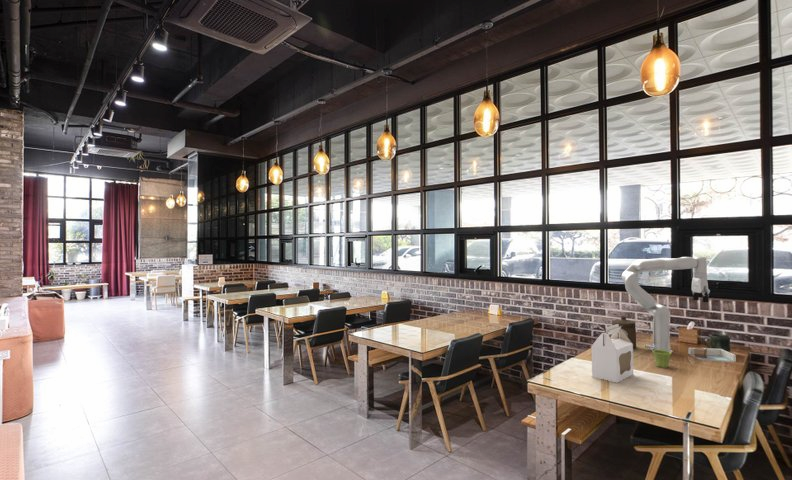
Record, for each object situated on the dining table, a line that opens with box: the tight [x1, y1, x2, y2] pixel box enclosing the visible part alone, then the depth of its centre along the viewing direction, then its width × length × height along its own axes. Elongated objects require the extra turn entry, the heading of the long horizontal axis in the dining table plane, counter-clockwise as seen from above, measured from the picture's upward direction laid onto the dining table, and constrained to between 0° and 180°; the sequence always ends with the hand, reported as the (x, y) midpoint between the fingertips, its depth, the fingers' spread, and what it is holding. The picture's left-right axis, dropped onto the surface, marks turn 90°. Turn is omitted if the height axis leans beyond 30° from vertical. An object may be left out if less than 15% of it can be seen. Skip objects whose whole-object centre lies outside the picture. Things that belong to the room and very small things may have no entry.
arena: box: [688, 347, 737, 363], centre depth 256 cm, size 19×15×5 cm
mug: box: [702, 333, 732, 353], centre depth 270 cm, size 11×15×12 cm
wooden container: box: [611, 315, 637, 350], centre depth 289 cm, size 15×15×22 cm
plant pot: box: [652, 350, 672, 369], centre depth 242 cm, size 9×9×9 cm
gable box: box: [591, 324, 634, 384], centre depth 226 cm, size 22×13×28 cm, turn 129°
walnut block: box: [693, 347, 707, 358], centre depth 258 cm, size 5×5×5 cm
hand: (700, 301), depth 269 cm, fingers open, 9 cm apart
